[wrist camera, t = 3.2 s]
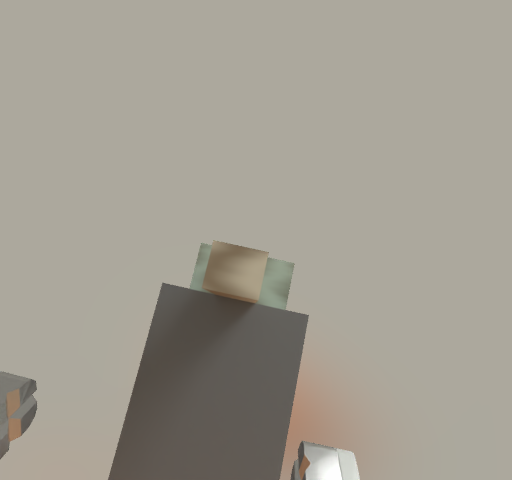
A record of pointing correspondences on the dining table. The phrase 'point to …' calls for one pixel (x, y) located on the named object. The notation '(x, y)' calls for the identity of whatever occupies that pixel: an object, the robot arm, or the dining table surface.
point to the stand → (211, 390)
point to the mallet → (242, 274)
